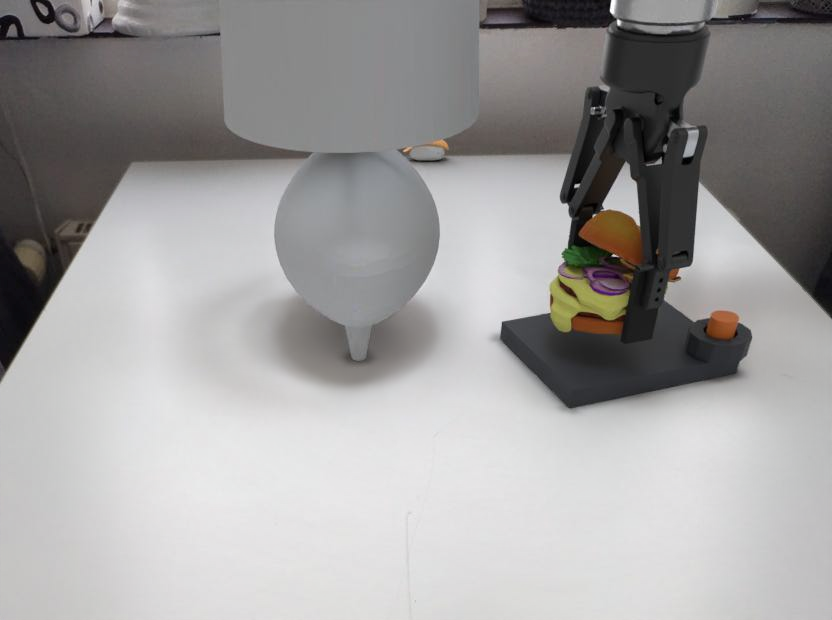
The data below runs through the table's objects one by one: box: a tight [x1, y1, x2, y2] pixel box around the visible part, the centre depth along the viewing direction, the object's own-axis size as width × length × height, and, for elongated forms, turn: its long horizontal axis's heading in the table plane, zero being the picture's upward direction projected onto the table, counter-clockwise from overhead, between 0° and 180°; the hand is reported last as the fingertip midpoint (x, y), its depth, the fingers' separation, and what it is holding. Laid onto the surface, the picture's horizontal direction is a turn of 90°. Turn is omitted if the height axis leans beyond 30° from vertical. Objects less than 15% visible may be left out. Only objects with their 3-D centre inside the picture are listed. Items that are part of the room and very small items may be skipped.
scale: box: [499, 299, 753, 409], centre depth 83 cm, size 18×15×4 cm
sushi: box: [402, 139, 450, 162], centre depth 124 cm, size 3×6×3 cm, turn 88°
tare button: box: [706, 309, 740, 339], centre depth 79 cm, size 2×2×2 cm
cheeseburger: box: [549, 209, 682, 335], centre depth 79 cm, size 10×11×10 cm
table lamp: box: [218, 0, 480, 362], centre depth 75 cm, size 23×22×40 cm
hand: (604, 314), depth 81 cm, fingers closed on cheeseburger, 10 cm apart
